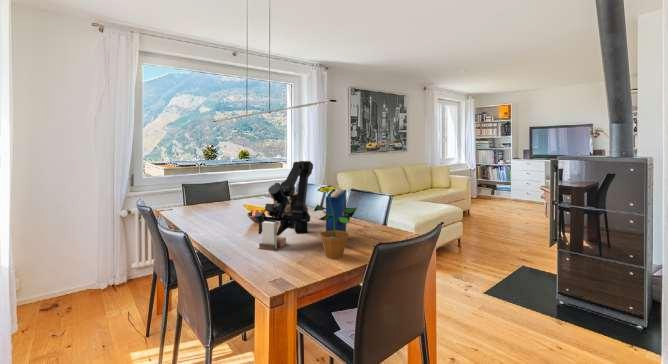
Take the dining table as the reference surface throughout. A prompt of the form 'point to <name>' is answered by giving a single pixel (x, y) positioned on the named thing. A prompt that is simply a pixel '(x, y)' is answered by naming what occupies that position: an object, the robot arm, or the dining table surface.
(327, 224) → the book
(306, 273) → the dining table surface
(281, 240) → the offcut top
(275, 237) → the tall white pillar
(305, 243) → the dining table surface
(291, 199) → the owl
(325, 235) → the potted plant
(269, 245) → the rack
